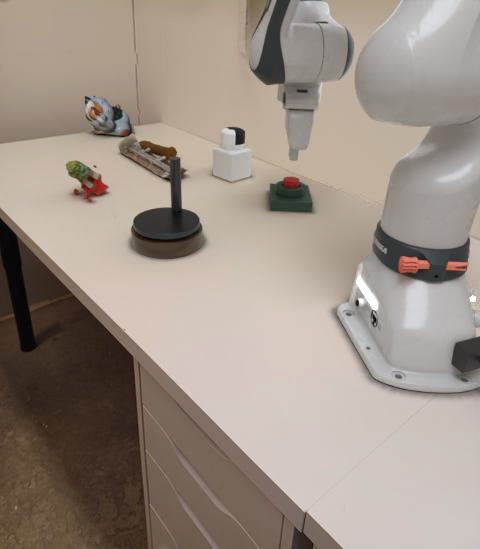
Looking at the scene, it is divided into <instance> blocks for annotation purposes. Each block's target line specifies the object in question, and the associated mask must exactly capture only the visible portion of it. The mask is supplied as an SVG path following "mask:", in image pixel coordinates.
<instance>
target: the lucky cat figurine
mask: <svg viewBox="0 0 480 549" xmlns="http://www.w3.org/2000/svg"><path fill="white" fill-rule="evenodd" d="M84 104H85V108H84V113H85V119H86V120H87V122H88V123H89V124H90V125H91V126H92V127H93V130H94V134H96V135H102V134H103V135H113V136H118V137H124V138H126V137H128V136H129V135H131V134H132V133H134V132H135V127H134V125H133V124H132V123H131V120H130V116H129V114H128V113H127V112H126V111H125V110H123V109H122V108H121V105H120V104H119V103H116V104H115V106H113V105H111V103H110V102H109V101H108V99H106V98H105V97H101V96H100V97H96V96H95V95H94V94H92V95H89V96H87V95H84Z"/></svg>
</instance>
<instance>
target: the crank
mask: <svg viewBox="0 0 480 549" xmlns="http://www.w3.org/2000/svg"><path fill="white" fill-rule="evenodd" d="M168 162H169V163H170V178H169V183H170V205H171V206H170V207H169V206H166V207H156V208H150V209H147V210H143V211H142V212H140V213H137V215H135V216H134V218H133V220H132V225H133V227H134V230H135V231H136V232H137V233H138V234H140V235H142V236H145V237H148V238H153V239H177V238H182V237H186V236H188V235H191V234H193V233H194V232H196V231H197V230H198V229H199V226H200V223H201V219H200V216H199V215H198V214H197V213H196V212H193V211H191V210H190V209H187V208H183V195H182V175H181V167H182V164H181V162H182V161H181V157H179V156H176V157H170V158H169V159H168Z"/></svg>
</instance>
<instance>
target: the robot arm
mask: <svg viewBox="0 0 480 549" xmlns="http://www.w3.org/2000/svg"><path fill="white" fill-rule="evenodd" d="M330 12H331V11H330V6H329V3H328V2H327V1H324V0H266V3H265V6H264V9H263V12H262V14H261V17H260V19H259V21H258V23H257V24H256V27H255V29H254V31H253V33H252V36H251V40H250V42H249V48H248V66H249V69H250V71H251V72H252V73H253V75H254V76H255V77H256V78H257V79H258V80H259V81H260V82H262V83H263V84H264V85H266V86H274V85H277V94H276V99H277V101H278V102H280V103H281V104H282V109H283V110H284V111H285V115H284V127H285V132H286V137H287V142H288V143H287V144H288V158H289V161H291V162H292V161H293V162H297V161H298V160H299V153H300V151H306V150H307V149H308V147H309V144H310V141H311V136H312V130H313V126H314V119H315V113H316V111H318V110H319V107H320V103H321V100H322V91H323V83H332V82H336V81H340V80H341V79H342V78H344V76H345V75H346V74H348V71H349V70H350V68H351V67H352V65H353V60H354V55H355V41H354V38H353V35H352V34H351V32H350V31H349V30H348V28H347V27H346V26H344V25H341V24H340V23H338V22H337V21H336V20H335V19H334V18H333V17H332V16H331V13H330ZM356 60H357V61H356V64H355V70H354V89H355V95H356V98H357V100H358V102H359V103H358V104H359V105H360V107H361V109H362V110H363V112H364V113H365V114H366V115H367V116H368V117H369V118H370V119H371V120H374V121H376V122H380V123H383V124H389V125H393V126H400V127H407V128H424V127H425V128H426V127H429V129H428V130H427V132H426V134H425V135H424V136H423V138H422V139H421V141H419V143H418V144H417V145H416V146H414V148H413V149H411V150H410V151H409V152H408V153H406V154H405V155H403V156H402V157H401V158H400V159H399V160H398V161H397V162H396V163H395V165H394V166H393V168H392V170H391V172H390V173H389V174H390V175H389V180H388V184H387V189H386V194H385V198H384V204H383V209H382V213H381V217H380V218H381V219H380V220H378V221H377V223H376V228H375V229H374V233H373V237H372V238H373V241H372V245H371V247H372V250H371V252H370V253H369V254H368V256H366V257H365V258H364V259H363V260H362V261H360V263H358V264H357V268H356V272H355V276H354V280H353V282H352V283H353V284H352V288H351V292H350V296H349V300H348V301H346V302H344V303H341V304H340V305H339V306H338V307H337V309H336V316H337V317H338V319H339V321H340V323H341V325H342V326H343V328H344V329H345V331H346V333H347V335H348V336H349V338H350V340H351V342H352V343H353V345H354V347H355V349H356V351H357V352H358V354H359V356H360V357H361V358H360V359H361V360H362V361H363V363H364V365H365V366H366V368H367V370H368V371H369V373H370V375H371V376H372V377H373V378H374V379H375V380H376V381H379V382H381V383H383V384H386V385H389V386H392V387H396V388H398V389H399V388H400V389H403V390H410V391H414V392H415V391H416V392H423V393H424V392H426V393H442V394H443V393H444V394H445V393H447V394H448V393H462V392H468V391H474V390H476V389H479V388H480V336H476V329H479V328H480V309H473V307H472V302H473V303H474V302H476V298H477V296H474V295H473V293H474V289H473V287H470V286H468V282H467V277H466V272H467V271H468V266H469V265H470V263H469V259H470V255H471V250H470V249H471V248H470V247H471V238H470V236H469V235H470V233H471V230H472V227H473V224H474V221H475V217H476V214H477V212H478V210H479V206H480V0H400V1H399V3H398V5H397V6H396V8H395V9H394V11H393V12H392V13H391V14H390V16H388V18H387V19H386V20H385V21H384V22H383V23H382V24H381V25H379V27H378V28H376V30H375V29H374V31H373V32H372V33H371V34H370V35H369V37H368V38H367V40H366V41H365V43H364V45H363V46H362V48H361V50H360V52H359V55H358V57H357V59H356Z"/></svg>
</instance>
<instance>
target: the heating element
mask: <svg viewBox="0 0 480 549" xmlns="http://www.w3.org/2000/svg"><path fill="white" fill-rule="evenodd" d="M139 142H140V141H139V140H138V139H137V137H136V136H135V135H134V132H132V133H131V134H130V135H128V136H126V137H124V139H122V141H120V142H118V143H117V147H118V150H119V152H120V153H121V154H122V155H124V156H125V157H127V158H130V159H132V160H133V161H135V162H137V163H138V164H140V165H141V166H143V167H145V169H147V170H149V171H151V172H152V173H153V174H155V175H156V176H158V177H161V178H164V179H166V178H167V179H170V163H169V159H168V158H167V157H166V156H164V155H161V157H159V156H158V157H157V156H156V155H154V153H153V152H152V151H151V150H150V148H147V149H142V148H141V146H140V144H139ZM187 171H188V169H185V167H184V166H181V176H182V175H183V174H184V173H186V172H187Z"/></svg>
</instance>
